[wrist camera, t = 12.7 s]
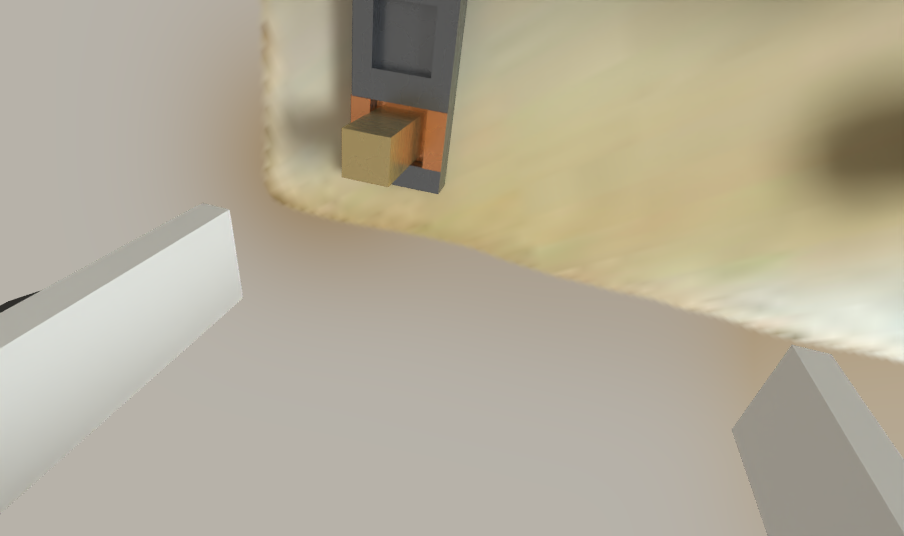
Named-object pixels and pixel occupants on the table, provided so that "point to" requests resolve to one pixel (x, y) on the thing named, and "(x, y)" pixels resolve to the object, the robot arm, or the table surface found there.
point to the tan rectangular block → (381, 145)
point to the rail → (410, 72)
